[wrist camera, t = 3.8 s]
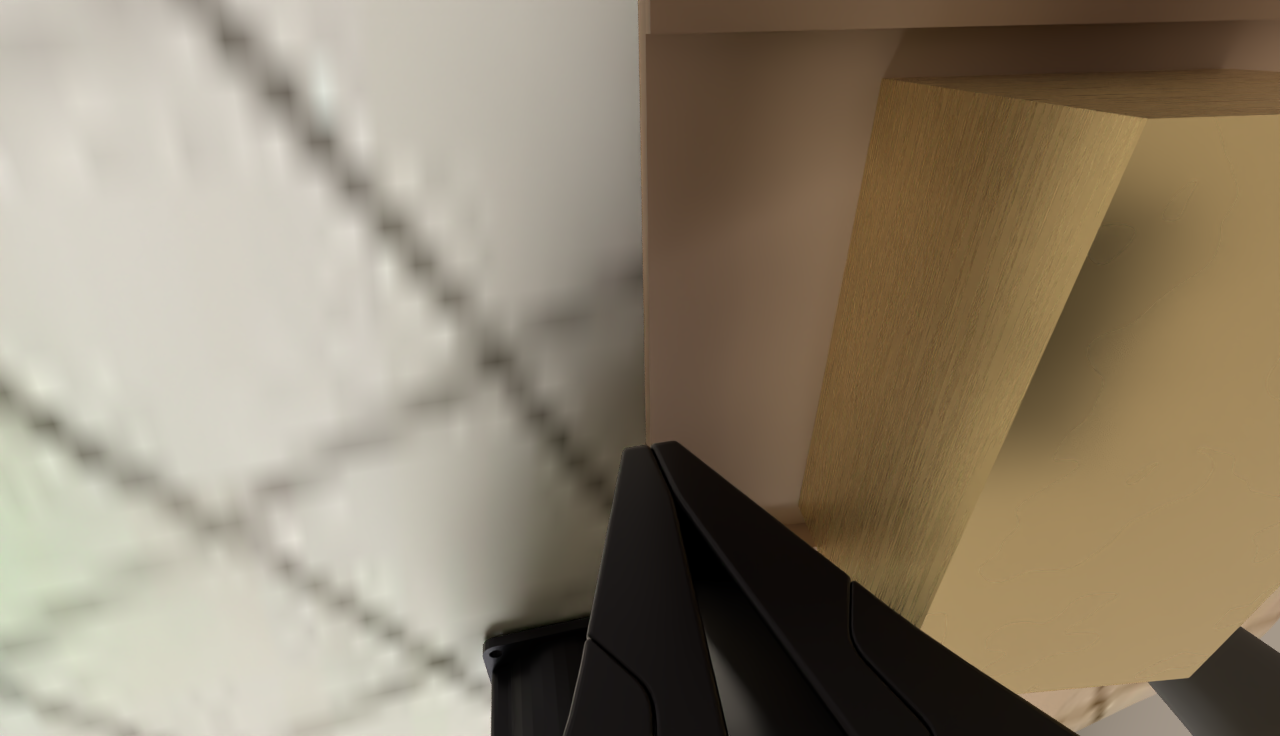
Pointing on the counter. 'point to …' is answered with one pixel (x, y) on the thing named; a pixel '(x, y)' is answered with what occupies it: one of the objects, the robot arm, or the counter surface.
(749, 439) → the wooden tray
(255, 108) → the counter surface
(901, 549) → the tan wood-grain block
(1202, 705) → the sundae
